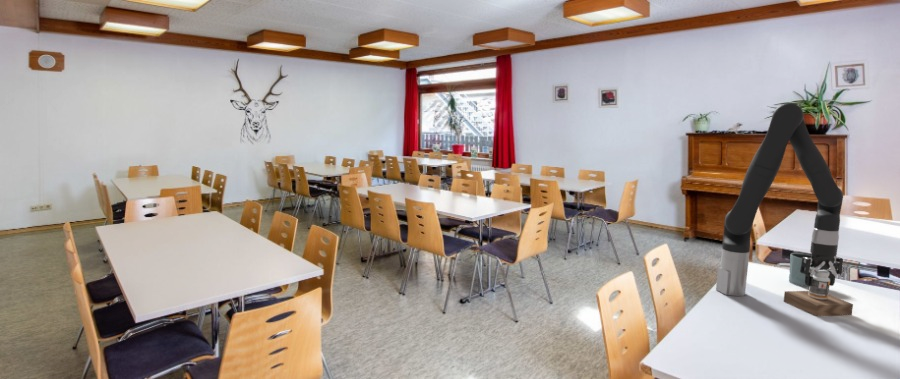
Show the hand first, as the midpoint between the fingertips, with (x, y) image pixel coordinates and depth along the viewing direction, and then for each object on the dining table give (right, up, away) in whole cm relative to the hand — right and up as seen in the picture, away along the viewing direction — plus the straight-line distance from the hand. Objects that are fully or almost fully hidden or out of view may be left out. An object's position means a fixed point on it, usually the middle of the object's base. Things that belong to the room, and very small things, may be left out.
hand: (819, 285), depth 174 cm
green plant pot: (+15, -5, +29) cm, 33 cm away
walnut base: (0, -9, +1) cm, 9 cm away
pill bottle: (0, -5, +1) cm, 5 cm away
